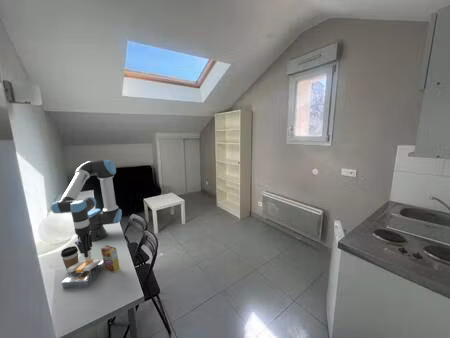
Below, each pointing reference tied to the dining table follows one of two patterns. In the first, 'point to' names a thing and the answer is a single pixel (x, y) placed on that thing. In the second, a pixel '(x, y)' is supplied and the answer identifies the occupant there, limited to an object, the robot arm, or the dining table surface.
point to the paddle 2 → (92, 265)
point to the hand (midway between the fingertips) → (88, 260)
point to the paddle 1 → (75, 266)
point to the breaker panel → (83, 277)
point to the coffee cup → (69, 256)
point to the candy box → (110, 258)
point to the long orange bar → (81, 267)
